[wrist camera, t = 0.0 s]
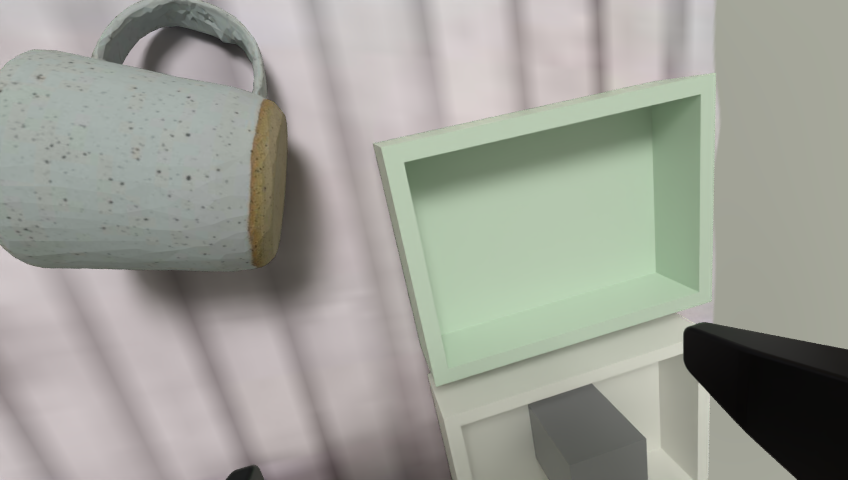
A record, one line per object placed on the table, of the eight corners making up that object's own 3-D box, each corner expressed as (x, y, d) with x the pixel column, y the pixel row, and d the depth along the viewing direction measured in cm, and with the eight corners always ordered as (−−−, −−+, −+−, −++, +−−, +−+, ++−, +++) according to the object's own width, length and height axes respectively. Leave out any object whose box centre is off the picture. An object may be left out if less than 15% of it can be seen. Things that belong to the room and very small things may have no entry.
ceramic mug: (289, 247, 21) (264, 307, 14) (108, 237, 19) (-30, 299, 12) (299, 26, 19) (275, -43, 11) (94, -11, 17) (-90, -120, 10)
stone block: (596, 437, 28) (648, 500, 23) (535, 458, 27) (577, 527, 23) (591, 383, 27) (646, 438, 22) (527, 403, 26) (569, 465, 21)
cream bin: (662, 444, 31) (708, 489, 27) (460, 516, 28) (479, 576, 25) (658, 303, 27) (710, 332, 23) (427, 374, 25) (443, 418, 21)
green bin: (657, 276, 26) (711, 301, 23) (420, 345, 24) (435, 386, 20) (653, 81, 23) (716, 72, 19) (373, 143, 21) (380, 147, 17)
